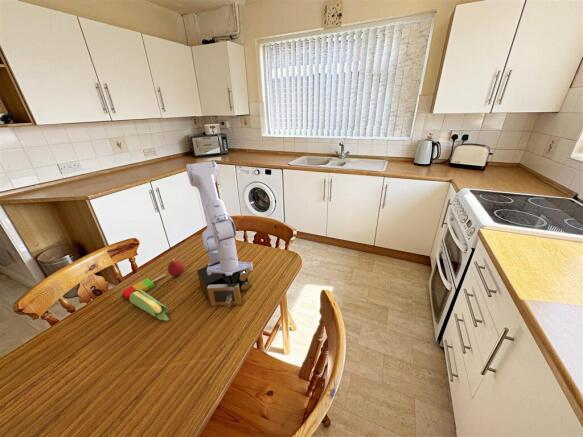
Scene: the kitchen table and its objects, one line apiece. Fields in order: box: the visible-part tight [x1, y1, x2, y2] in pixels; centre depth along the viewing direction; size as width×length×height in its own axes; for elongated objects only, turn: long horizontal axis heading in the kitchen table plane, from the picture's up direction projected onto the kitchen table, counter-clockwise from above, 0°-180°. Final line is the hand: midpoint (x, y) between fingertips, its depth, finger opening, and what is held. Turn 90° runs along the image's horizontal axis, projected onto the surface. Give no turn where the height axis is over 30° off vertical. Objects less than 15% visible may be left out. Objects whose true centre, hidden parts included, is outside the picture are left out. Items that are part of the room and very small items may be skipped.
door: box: [207, 284, 242, 309], centre depth 78 cm, size 6×10×8 cm, turn 91°
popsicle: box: [122, 273, 167, 301], centre depth 91 cm, size 6×15×2 cm, turn 143°
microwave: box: [196, 261, 250, 301], centre depth 87 cm, size 12×14×8 cm
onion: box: [167, 258, 185, 277], centre depth 94 cm, size 6×6×8 cm
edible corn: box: [128, 290, 171, 321], centre depth 79 cm, size 5×20×5 cm, turn 59°
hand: (233, 287), depth 82 cm, fingers closed, pressing on door
